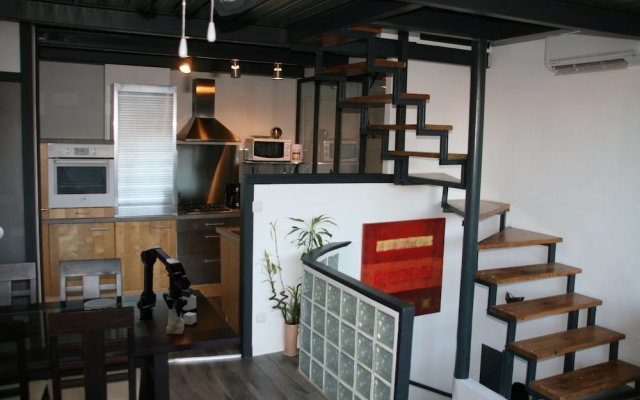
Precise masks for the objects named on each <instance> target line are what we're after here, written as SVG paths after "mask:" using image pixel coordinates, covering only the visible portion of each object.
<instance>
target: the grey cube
mask: <svg viewBox="0 0 640 400" xmlns="http://www.w3.org/2000/svg"><path fill="white" fill-rule="evenodd" d="M182 316H183V320H184V325H193V323H194V324H195V323H197V312H190V311H188V312H186V313H185V314H183V315H182Z"/></svg>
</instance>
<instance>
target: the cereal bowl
mask: <svg viewBox="0 0 640 400" xmlns="http://www.w3.org/2000/svg"><path fill="white" fill-rule="evenodd" d="M116 304H117V301H116V299H113V298H96V299H91V300H89V301H86V302H85V303H84V304H83V308H84V311H85V310H91V309H101V308H107V307H115V308H116V306H117V305H116Z"/></svg>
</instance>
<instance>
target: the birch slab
mask: <svg viewBox="0 0 640 400" xmlns="http://www.w3.org/2000/svg"><path fill="white" fill-rule="evenodd" d="M168 325H169V327H170V329H173V328H181V327H184V328H185V324H184V318H182V320H177V321H171V320H170V319H169V317H168V318H167V326H168Z"/></svg>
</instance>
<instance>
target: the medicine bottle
mask: <svg viewBox="0 0 640 400" xmlns="http://www.w3.org/2000/svg"><path fill="white" fill-rule="evenodd" d="M187 290H188V291H190V292H191V295H190V298H188V297H184V296H183V298H184V299H186V300H187V301H188V305H186V306H184V307H183V309H182V311H188V312H189V311H190V310H194V309H196V308H197V296H196V295H194V289H193V288H191V287H189V288H188V289H187ZM179 299H180V298H179Z"/></svg>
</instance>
